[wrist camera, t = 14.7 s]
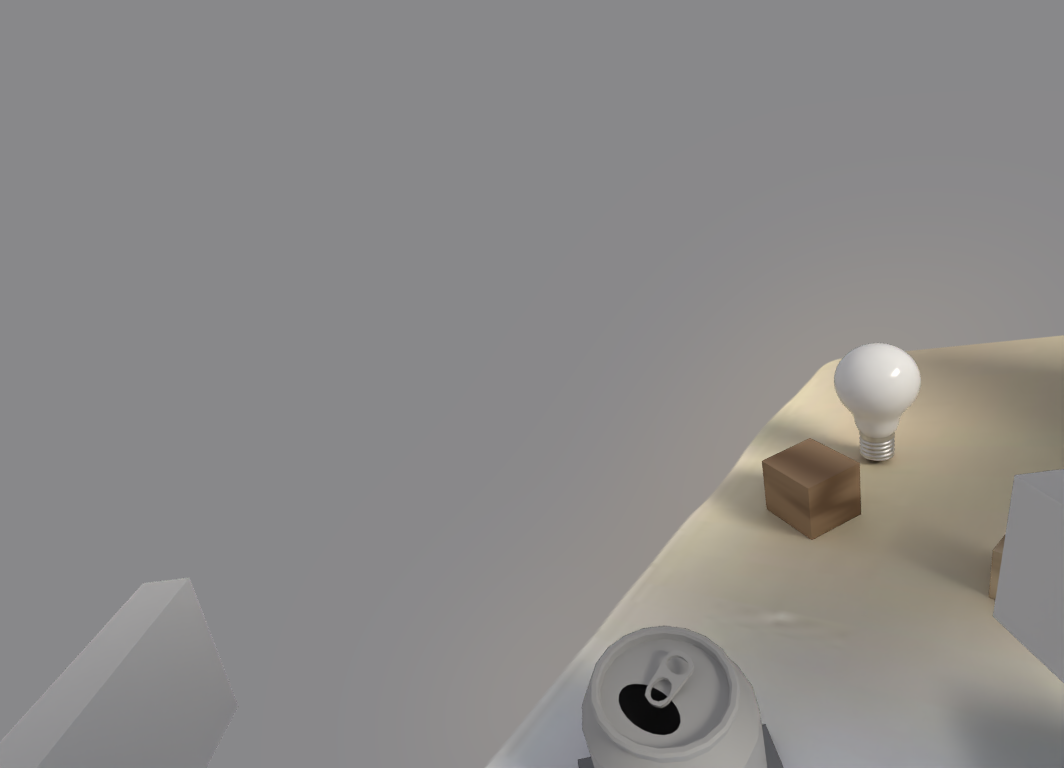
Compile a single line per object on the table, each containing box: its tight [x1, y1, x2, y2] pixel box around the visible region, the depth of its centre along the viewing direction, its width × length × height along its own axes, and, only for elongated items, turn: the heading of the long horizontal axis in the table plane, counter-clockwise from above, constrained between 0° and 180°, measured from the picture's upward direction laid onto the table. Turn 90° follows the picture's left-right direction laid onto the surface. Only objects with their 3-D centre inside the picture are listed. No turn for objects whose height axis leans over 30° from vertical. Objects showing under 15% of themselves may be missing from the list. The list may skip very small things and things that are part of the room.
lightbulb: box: [834, 343, 921, 461], centre depth 52 cm, size 6×6×11 cm
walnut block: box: [762, 438, 861, 540], centre depth 49 cm, size 5×5×5 cm
